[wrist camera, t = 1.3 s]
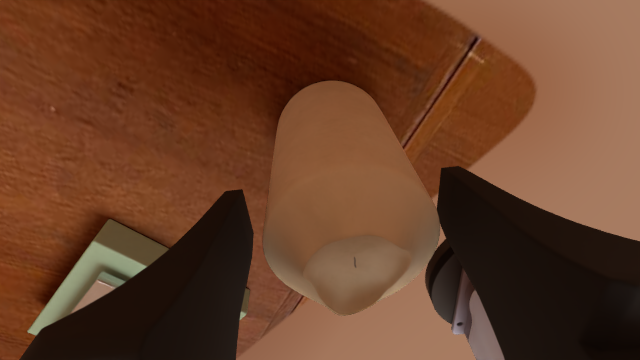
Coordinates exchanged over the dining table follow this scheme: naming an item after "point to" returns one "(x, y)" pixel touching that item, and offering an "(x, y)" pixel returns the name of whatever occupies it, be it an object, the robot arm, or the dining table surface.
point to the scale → (105, 269)
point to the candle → (344, 202)
